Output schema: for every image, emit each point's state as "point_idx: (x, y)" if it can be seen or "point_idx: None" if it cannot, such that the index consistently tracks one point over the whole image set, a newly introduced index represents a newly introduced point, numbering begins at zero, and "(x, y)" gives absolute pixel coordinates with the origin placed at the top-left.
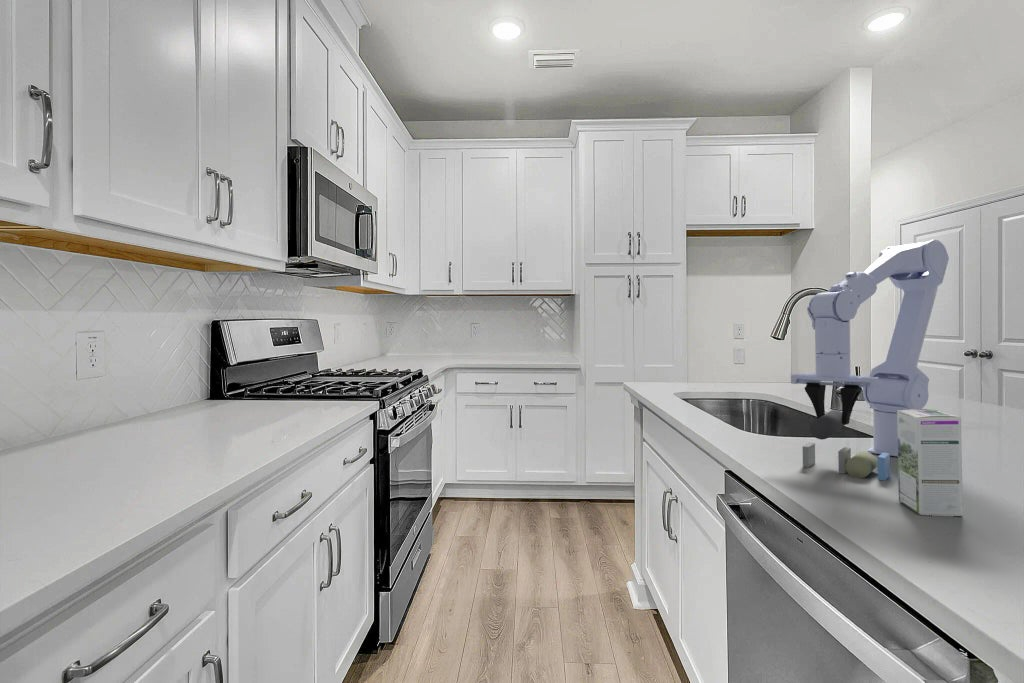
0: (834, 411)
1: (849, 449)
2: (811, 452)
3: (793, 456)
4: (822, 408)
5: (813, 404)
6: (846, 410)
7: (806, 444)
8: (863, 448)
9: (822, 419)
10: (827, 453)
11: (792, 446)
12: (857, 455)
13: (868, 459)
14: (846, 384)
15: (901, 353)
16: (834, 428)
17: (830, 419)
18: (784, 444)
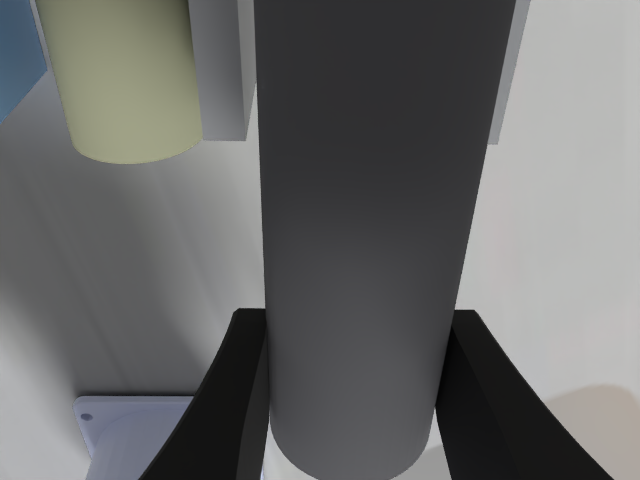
0: (353, 443)
1: (199, 104)
2: None
3: (567, 162)
4: (467, 457)
5: (571, 441)
6: (201, 408)
7: (511, 59)
8: None
9: (387, 19)
10: None
11: (581, 344)
12: (120, 22)
13: (44, 5)
14: None
15: None
16: (256, 56)
17: (311, 147)
18: (621, 357)
